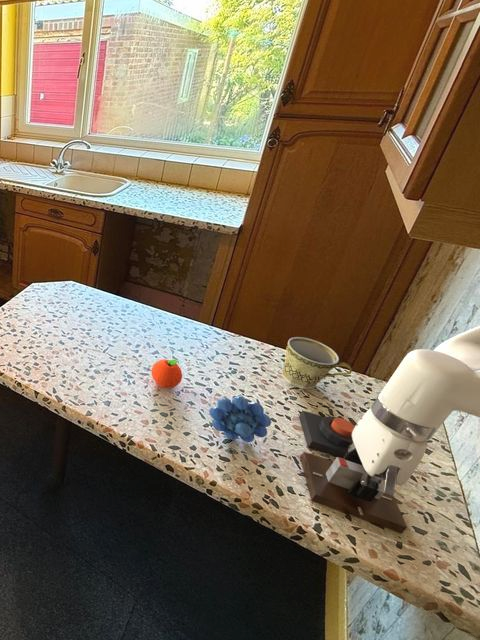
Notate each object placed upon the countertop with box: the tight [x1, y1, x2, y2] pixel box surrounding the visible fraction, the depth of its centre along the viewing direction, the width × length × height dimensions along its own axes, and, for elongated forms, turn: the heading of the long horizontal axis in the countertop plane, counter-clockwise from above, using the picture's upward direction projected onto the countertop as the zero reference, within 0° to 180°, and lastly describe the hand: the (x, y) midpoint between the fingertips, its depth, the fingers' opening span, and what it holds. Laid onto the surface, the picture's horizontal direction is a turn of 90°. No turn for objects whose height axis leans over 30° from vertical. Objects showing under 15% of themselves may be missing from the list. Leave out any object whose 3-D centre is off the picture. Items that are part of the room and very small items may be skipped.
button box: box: [298, 410, 353, 458], centre depth 86 cm, size 11×9×4 cm
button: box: [331, 417, 355, 437], centre depth 85 cm, size 4×4×2 cm
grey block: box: [326, 457, 384, 499], centre depth 75 cm, size 8×2×5 cm, turn 64°
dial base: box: [299, 451, 408, 534], centre depth 76 cm, size 13×12×2 cm
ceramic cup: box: [281, 336, 353, 390], centre depth 99 cm, size 13×10×10 cm
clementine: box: [151, 358, 183, 389], centre depth 100 cm, size 8×7×7 cm
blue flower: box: [208, 395, 272, 443], centre depth 84 cm, size 12×7×12 cm, turn 74°
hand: (354, 482), depth 75 cm, fingers open, 5 cm apart
